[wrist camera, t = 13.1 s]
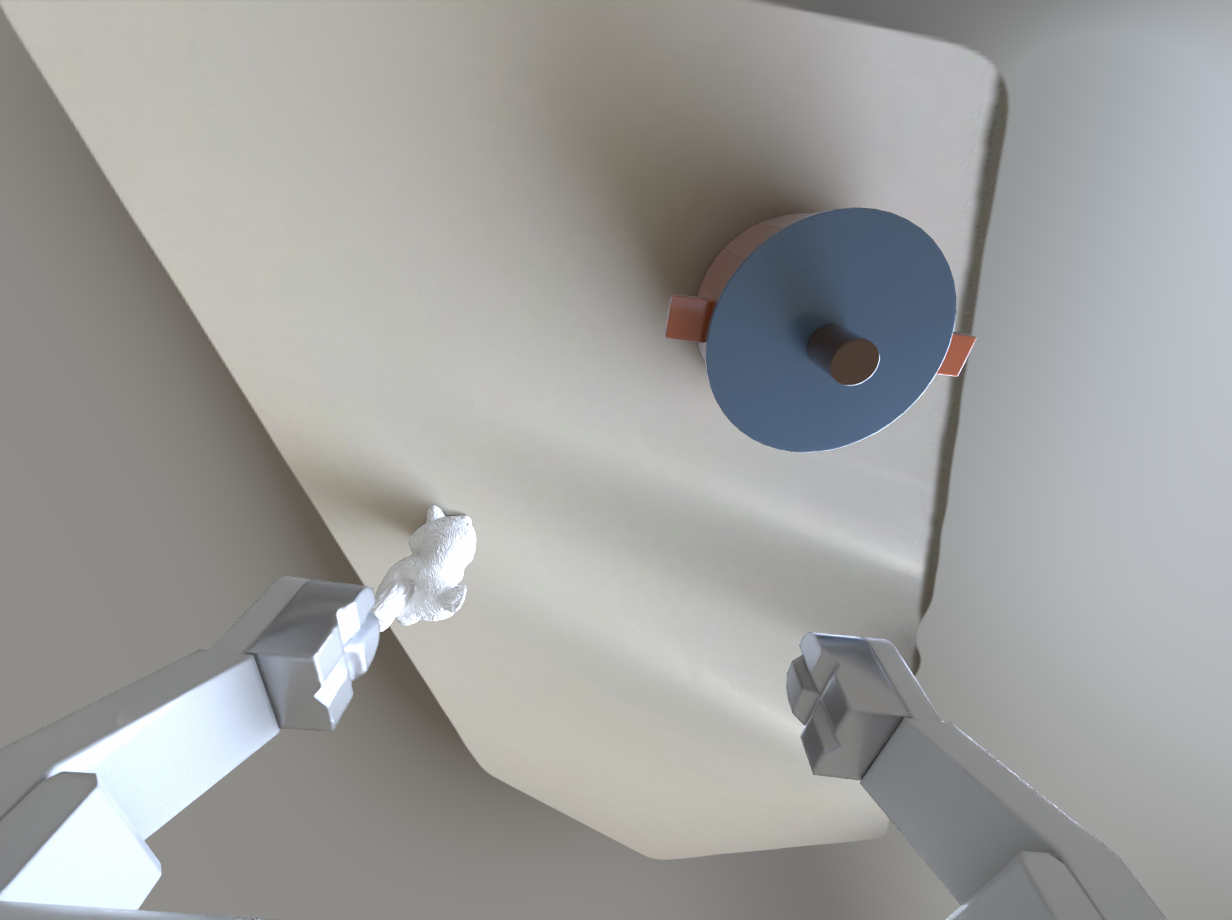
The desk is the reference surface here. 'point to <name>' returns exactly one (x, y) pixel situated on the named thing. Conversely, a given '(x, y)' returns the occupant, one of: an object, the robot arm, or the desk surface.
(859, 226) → the lid
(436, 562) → the koala figurine
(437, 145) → the desk surface
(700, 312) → the pot
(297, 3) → the desk surface
